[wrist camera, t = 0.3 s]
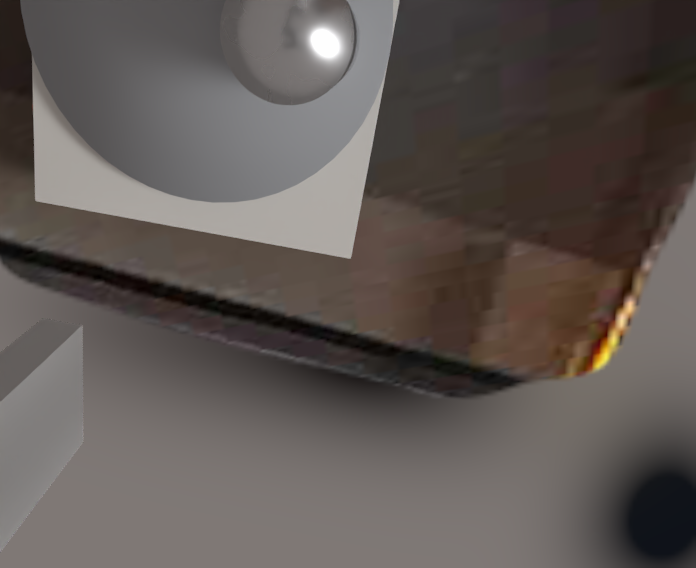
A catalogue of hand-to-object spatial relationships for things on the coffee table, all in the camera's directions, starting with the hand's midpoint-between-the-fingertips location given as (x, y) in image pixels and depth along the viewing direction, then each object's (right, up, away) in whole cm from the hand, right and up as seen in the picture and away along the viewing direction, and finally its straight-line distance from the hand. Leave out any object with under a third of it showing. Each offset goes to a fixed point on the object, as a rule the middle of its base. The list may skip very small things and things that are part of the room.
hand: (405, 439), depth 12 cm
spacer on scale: (-3, +15, +17) cm, 23 cm away
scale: (-8, +17, +23) cm, 30 cm away
